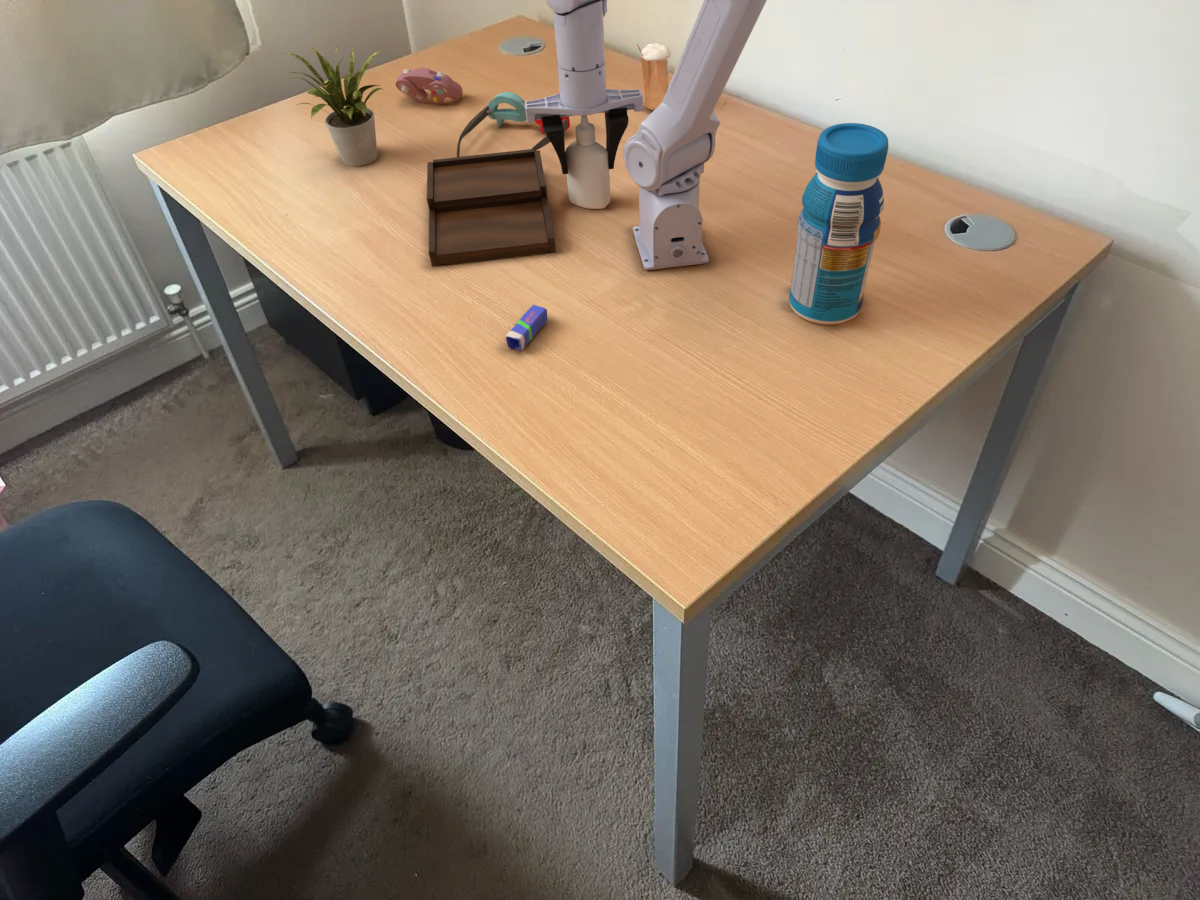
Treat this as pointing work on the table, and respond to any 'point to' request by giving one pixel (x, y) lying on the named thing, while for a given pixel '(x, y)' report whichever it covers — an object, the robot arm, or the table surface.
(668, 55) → the frothy drink cup
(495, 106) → the novelty glasses
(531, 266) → the table surface
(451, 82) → the video game controller
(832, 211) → the beverage bottle
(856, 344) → the table surface
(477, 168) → the step shelf
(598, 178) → the eye dropper bottle
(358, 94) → the house plant
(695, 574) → the table surface
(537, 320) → the eraser
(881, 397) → the table surface
